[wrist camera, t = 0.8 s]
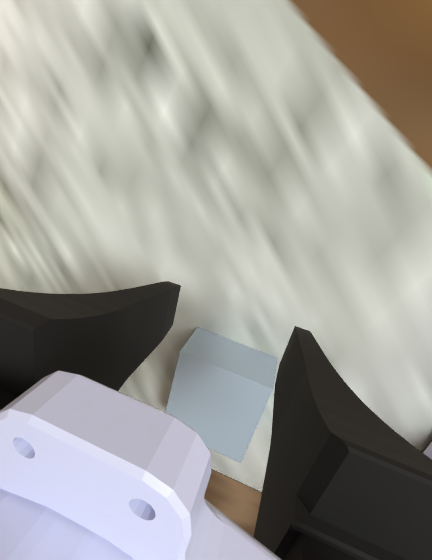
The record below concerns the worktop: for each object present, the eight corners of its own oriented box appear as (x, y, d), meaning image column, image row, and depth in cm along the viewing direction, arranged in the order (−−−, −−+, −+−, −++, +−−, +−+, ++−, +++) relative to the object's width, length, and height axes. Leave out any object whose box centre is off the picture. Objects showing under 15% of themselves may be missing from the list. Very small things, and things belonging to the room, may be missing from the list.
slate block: (277, 355, 23) (272, 389, 19) (249, 423, 26) (240, 463, 23) (198, 325, 24) (179, 351, 21) (180, 394, 27) (161, 426, 24)
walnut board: (291, 506, 28) (288, 604, 21) (281, 523, 29) (275, 620, 23) (113, 423, 31) (65, 485, 25) (111, 441, 32) (64, 505, 26)
